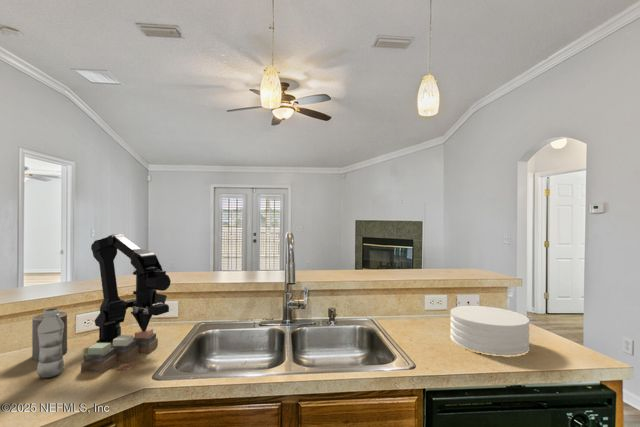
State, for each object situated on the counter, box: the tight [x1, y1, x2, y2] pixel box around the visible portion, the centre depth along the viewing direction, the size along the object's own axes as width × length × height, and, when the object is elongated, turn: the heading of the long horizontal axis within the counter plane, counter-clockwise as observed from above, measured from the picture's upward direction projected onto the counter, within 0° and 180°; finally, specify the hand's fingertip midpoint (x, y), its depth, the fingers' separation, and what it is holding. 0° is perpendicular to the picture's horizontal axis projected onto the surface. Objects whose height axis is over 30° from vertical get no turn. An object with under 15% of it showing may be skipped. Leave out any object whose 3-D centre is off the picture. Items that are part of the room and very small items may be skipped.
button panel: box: [80, 332, 159, 373], centre depth 120 cm, size 14×22×5 cm, turn 1°
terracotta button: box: [134, 328, 154, 338], centre depth 128 cm, size 4×4×2 cm
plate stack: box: [449, 305, 530, 355], centre depth 139 cm, size 28×28×12 cm
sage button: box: [87, 342, 112, 355], centre depth 112 cm, size 4×4×2 cm
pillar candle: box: [31, 311, 68, 361], centre depth 122 cm, size 10×10×15 cm
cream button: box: [112, 334, 134, 346], centre depth 120 cm, size 4×4×2 cm
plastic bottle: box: [36, 307, 65, 379], centre depth 106 cm, size 6×7×20 cm
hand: (144, 330), depth 128 cm, fingers closed, pressing on terracotta button
